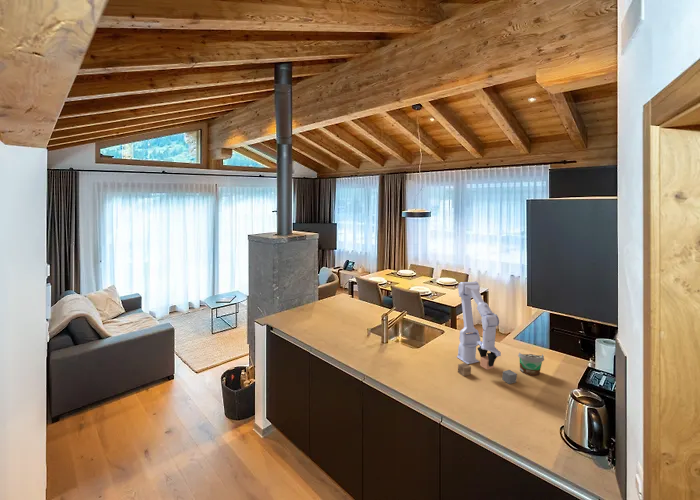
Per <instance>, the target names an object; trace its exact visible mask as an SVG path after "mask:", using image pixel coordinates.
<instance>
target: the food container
mask: <svg viewBox="0 0 700 500" xmlns="http://www.w3.org/2000/svg"><path fill="white" fill-rule="evenodd" d="M517 356H518V358H519V371H520V372H521V373H522V374H524V375H527V376H532V377H538V376H539V375H540V372H541V369H542V365H543V362H544V361H545V357H544V356H545V355H544V354H543V353H542V354H541V355H539V354H532V353H529V354H524V353H521V352H519V353H518V355H517Z"/></svg>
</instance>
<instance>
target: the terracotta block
mask: <svg viewBox="0 0 700 500" xmlns="http://www.w3.org/2000/svg"><path fill="white" fill-rule="evenodd" d="M479 362H480V364H479V366H480V367H481V368H484V369H485V370H491V369H494V368H495V367H494V366H495V363H494V364H493V366H489V364H488V362H489V360H488V355H487V356H484V357H481V356H480V360H479Z"/></svg>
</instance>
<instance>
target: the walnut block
mask: <svg viewBox="0 0 700 500" xmlns="http://www.w3.org/2000/svg"><path fill="white" fill-rule="evenodd" d="M457 373H458V374H460V375H461V376H462V377H467V376H471V375H472V374H471V373H472V366H470V364H466V363H465V362H462V363H458V365H457Z"/></svg>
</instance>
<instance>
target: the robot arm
mask: <svg viewBox="0 0 700 500" xmlns="http://www.w3.org/2000/svg"><path fill="white" fill-rule="evenodd" d="M480 287H481V286H480V284H479V282H478V281H461V282H459V283H458V285H457V289H458V291H457V292H458V296H459V297H460V298H461V299H460V300H461V309H462V310H461V311H462V319H463V328H462V329H460V331H459V344H458V349H457V350H458V351H457V355H456V358H458V359H459V360H461V362H462V363H466V364H468V365H470V364H475V363H479V362H480V360H478V359H477V358H476V355H477V350H478V353H479V356H480V358H481V357H484V356H488V360H489V362H488V364H489V366H493V364H494V365H495V361H496V359H497V358H498V357H501V355H502V354H501V352H502V351H499V350H498V348H497V347H495V345H496V334H497V333H496V331H497V326H499V324H500V319H499V315H497V314H495V312H493V311H492V310H491V307H490V306H489V304H488V303H487V302H485V301H484V299H483V297H482V295H481V292H480V289H481V288H480ZM472 299H473V301H474V302H475V304H476V305H477V306H476V309H477V312H478V313H479V315H480V317H481V325H482V329H483V332H482V341H481V336H480V333H479V330H478V329H477V328H476V327H475V325H474V317H473V316H474V315H473V306H472ZM478 346H479V347H478Z"/></svg>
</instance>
